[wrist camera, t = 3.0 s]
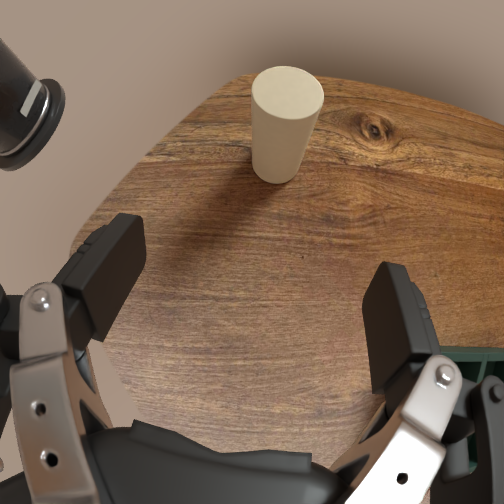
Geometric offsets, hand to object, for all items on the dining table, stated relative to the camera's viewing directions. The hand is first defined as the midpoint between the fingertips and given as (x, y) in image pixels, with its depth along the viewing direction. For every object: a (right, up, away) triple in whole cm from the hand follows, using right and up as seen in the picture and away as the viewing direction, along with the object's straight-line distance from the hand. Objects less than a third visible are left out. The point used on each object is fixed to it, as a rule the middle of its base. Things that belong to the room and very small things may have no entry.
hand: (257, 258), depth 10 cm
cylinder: (+2, +8, +15) cm, 17 cm away
